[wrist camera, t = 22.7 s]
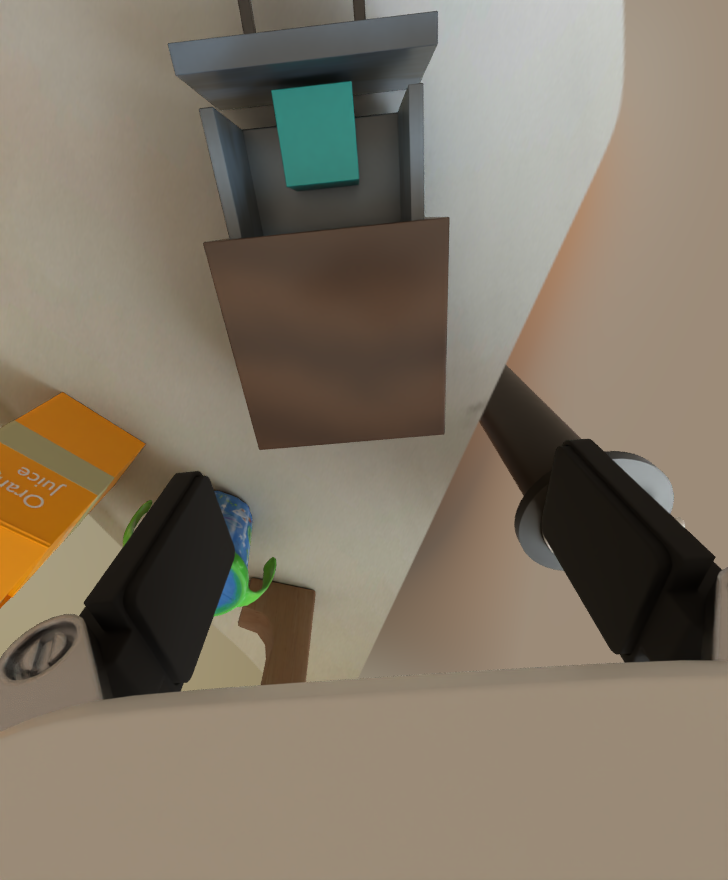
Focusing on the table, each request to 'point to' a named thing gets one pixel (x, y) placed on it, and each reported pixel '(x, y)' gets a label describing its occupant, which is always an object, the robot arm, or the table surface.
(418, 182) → the drawer
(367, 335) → the cabinet
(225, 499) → the snack cup
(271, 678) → the wooden block
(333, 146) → the teal matte cube
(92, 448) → the orange juice
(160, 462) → the table surface
